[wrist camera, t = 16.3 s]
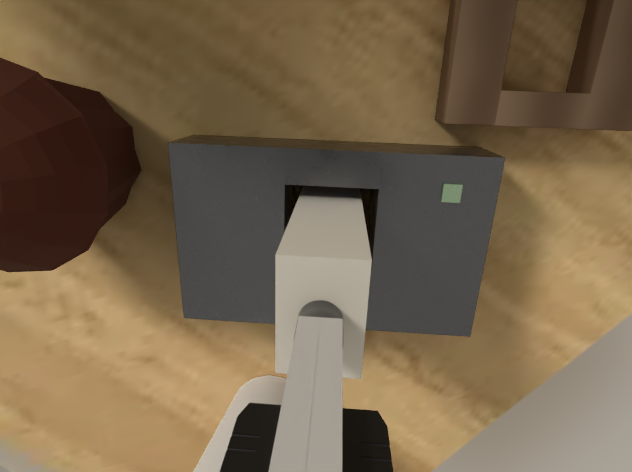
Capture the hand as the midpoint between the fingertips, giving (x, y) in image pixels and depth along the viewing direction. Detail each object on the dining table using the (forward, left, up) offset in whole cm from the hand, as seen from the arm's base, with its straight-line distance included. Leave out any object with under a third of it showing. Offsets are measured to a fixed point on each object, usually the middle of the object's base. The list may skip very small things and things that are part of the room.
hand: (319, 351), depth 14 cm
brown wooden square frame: (-12, +11, -14) cm, 21 cm away
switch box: (0, 0, -14) cm, 14 cm away
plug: (0, 0, -14) cm, 14 cm away
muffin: (-4, -17, -14) cm, 23 cm away
